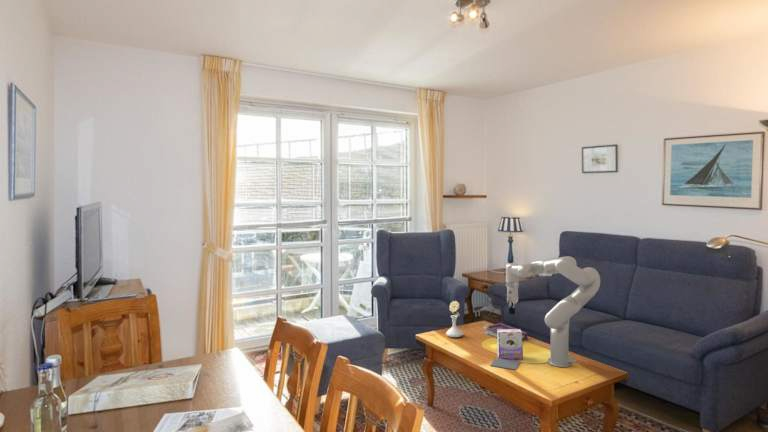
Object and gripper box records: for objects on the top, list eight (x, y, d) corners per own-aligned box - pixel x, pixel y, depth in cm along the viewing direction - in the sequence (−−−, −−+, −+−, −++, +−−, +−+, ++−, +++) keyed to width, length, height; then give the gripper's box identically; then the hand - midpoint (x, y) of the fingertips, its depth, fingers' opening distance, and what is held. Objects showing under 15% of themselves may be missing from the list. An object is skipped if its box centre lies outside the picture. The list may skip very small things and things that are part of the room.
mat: (520, 362, 253) (520, 361, 253) (515, 370, 243) (515, 369, 243) (495, 358, 260) (495, 357, 260) (490, 366, 249) (490, 365, 249)
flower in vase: (443, 334, 306) (442, 298, 304) (458, 332, 309) (457, 297, 308) (451, 340, 293) (451, 303, 292) (467, 338, 297) (466, 301, 295)
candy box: (521, 355, 263) (520, 328, 262) (523, 359, 257) (522, 331, 257) (497, 355, 265) (496, 328, 264) (498, 359, 259) (498, 331, 258)
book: (483, 333, 307) (482, 326, 307) (500, 329, 314) (500, 322, 314) (508, 344, 284) (508, 336, 284) (527, 340, 292) (527, 332, 291)
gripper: (515, 287, 258) (515, 318, 259) (521, 282, 271) (521, 311, 272) (502, 285, 262) (502, 316, 263) (508, 281, 275) (508, 310, 276)
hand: (512, 313), depth 268 cm, fingers closed
